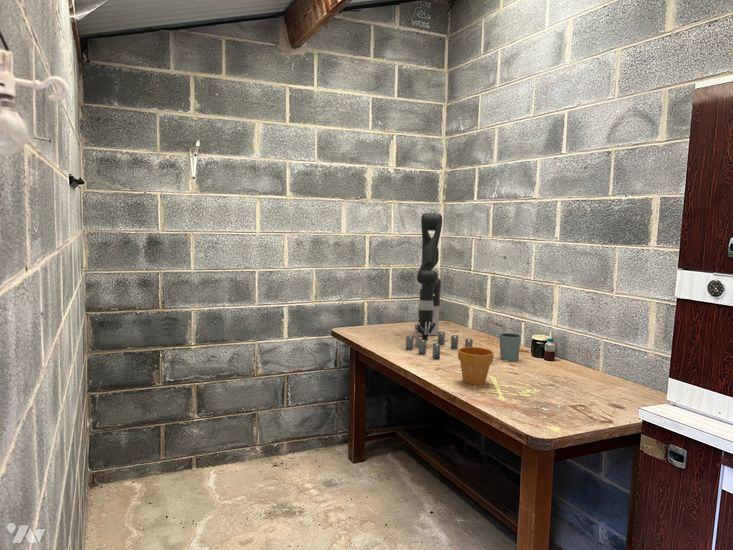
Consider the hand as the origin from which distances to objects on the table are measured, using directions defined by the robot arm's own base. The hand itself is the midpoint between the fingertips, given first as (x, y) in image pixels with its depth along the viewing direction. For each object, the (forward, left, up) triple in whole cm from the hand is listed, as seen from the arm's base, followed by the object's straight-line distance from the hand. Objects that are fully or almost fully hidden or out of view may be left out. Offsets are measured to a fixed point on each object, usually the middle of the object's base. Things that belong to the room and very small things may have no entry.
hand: (424, 341), depth 274 cm
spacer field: (+11, 0, -3) cm, 11 cm away
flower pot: (+57, -23, -3) cm, 61 cm away
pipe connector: (-4, -1, -3) cm, 6 cm away
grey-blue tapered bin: (+39, +20, -3) cm, 44 cm away
